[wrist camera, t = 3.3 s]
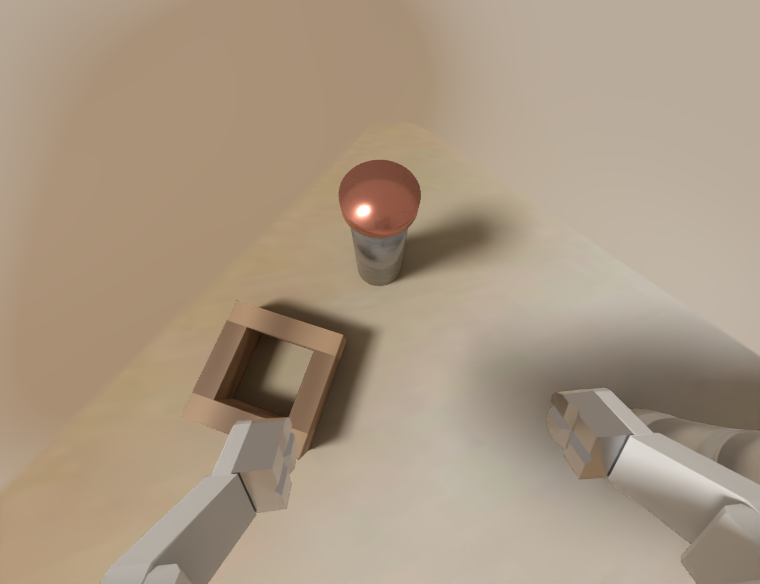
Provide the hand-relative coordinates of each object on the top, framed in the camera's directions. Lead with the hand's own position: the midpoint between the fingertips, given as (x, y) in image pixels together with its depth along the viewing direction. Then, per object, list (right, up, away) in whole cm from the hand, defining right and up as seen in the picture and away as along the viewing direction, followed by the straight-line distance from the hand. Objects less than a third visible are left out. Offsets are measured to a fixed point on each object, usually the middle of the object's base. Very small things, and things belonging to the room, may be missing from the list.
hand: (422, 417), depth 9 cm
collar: (-10, -3, +16) cm, 19 cm away
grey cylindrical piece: (-1, +6, +19) cm, 20 cm away
